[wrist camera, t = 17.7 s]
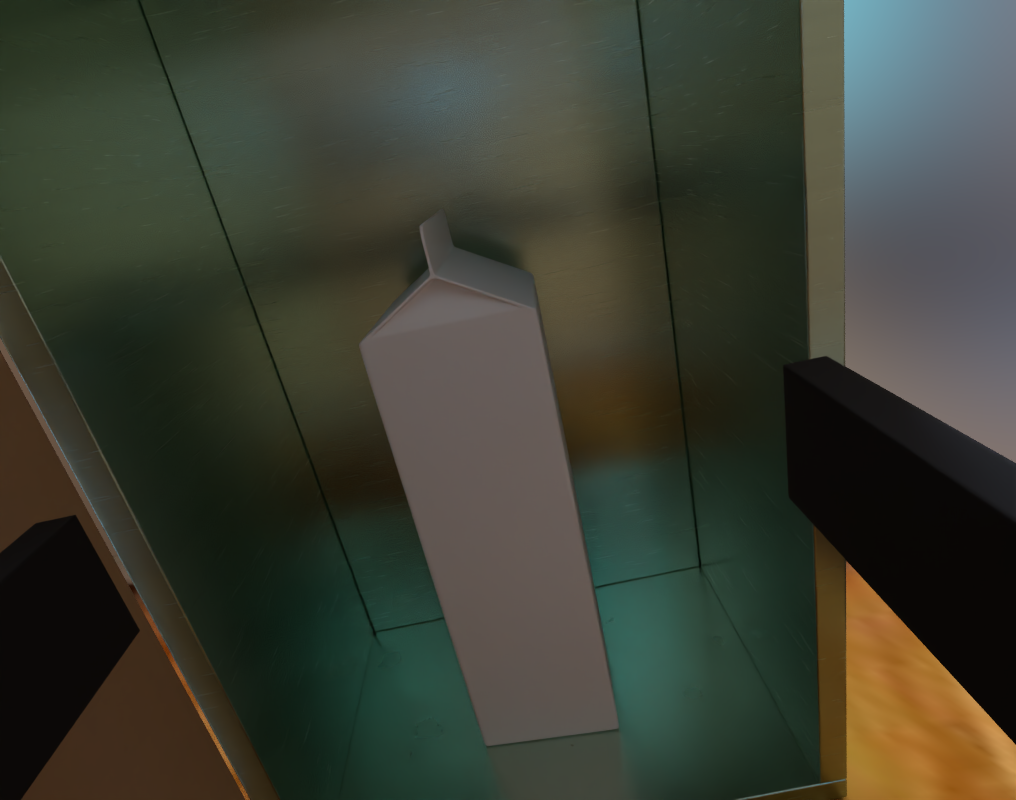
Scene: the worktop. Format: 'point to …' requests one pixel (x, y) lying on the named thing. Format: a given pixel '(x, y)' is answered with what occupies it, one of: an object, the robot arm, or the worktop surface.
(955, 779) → the worktop surface
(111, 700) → the fridge door
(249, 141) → the fridge
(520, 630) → the milk
